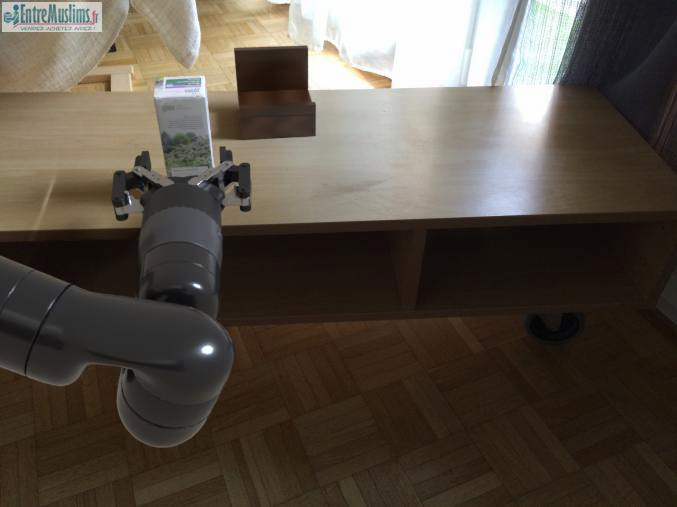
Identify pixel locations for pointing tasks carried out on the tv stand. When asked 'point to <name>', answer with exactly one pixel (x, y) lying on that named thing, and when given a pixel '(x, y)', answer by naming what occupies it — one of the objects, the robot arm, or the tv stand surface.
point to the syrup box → (184, 125)
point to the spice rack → (274, 92)
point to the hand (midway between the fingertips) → (185, 155)
